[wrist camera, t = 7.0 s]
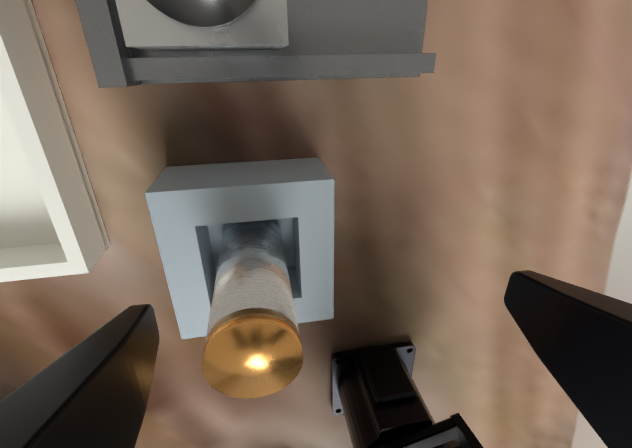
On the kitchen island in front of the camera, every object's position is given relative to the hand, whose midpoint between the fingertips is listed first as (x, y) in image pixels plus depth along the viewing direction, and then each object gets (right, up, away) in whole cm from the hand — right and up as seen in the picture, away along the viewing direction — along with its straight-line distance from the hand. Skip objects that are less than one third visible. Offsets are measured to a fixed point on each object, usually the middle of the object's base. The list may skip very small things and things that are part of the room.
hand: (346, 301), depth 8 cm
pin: (-4, +1, +11) cm, 11 cm away
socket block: (-4, +2, +11) cm, 12 cm away
